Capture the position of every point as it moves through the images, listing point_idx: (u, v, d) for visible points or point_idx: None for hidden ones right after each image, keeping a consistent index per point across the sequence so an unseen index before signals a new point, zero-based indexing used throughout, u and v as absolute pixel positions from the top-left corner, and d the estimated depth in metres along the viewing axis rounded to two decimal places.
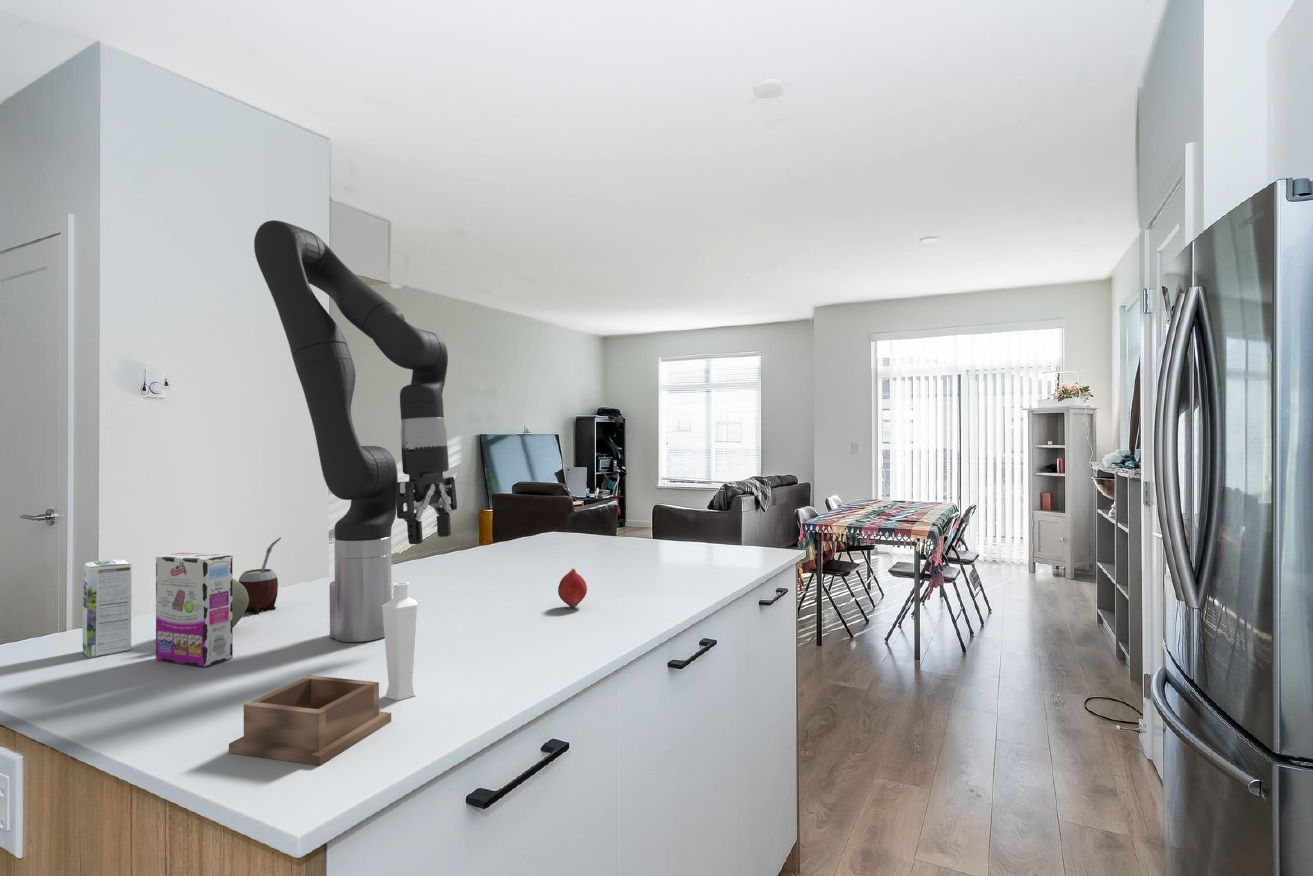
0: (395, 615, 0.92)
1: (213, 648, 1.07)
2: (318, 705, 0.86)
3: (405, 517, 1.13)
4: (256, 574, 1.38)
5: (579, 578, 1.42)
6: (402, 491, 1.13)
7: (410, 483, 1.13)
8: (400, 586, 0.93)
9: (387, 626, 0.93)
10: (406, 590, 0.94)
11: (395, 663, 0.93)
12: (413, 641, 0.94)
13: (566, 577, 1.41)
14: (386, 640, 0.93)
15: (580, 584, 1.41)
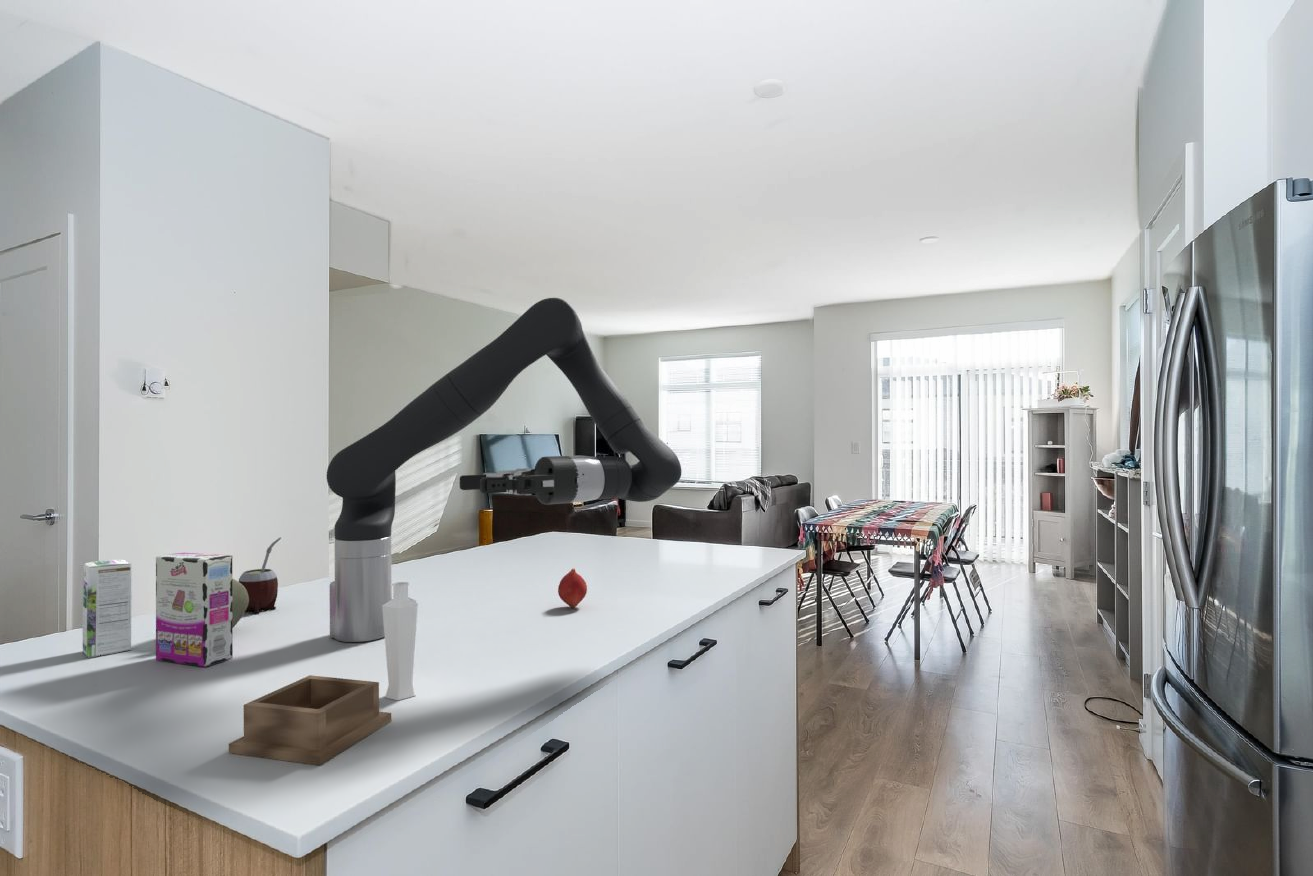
0: (395, 615, 0.92)
1: (213, 648, 1.07)
2: (318, 705, 0.86)
3: (519, 486, 0.99)
4: (256, 574, 1.38)
5: (579, 578, 1.42)
6: (546, 483, 1.02)
7: (552, 491, 1.03)
8: (400, 586, 0.93)
9: (387, 626, 0.93)
10: (406, 590, 0.94)
11: (395, 663, 0.93)
12: (413, 641, 0.94)
13: (566, 577, 1.41)
14: (386, 640, 0.93)
15: (580, 584, 1.41)
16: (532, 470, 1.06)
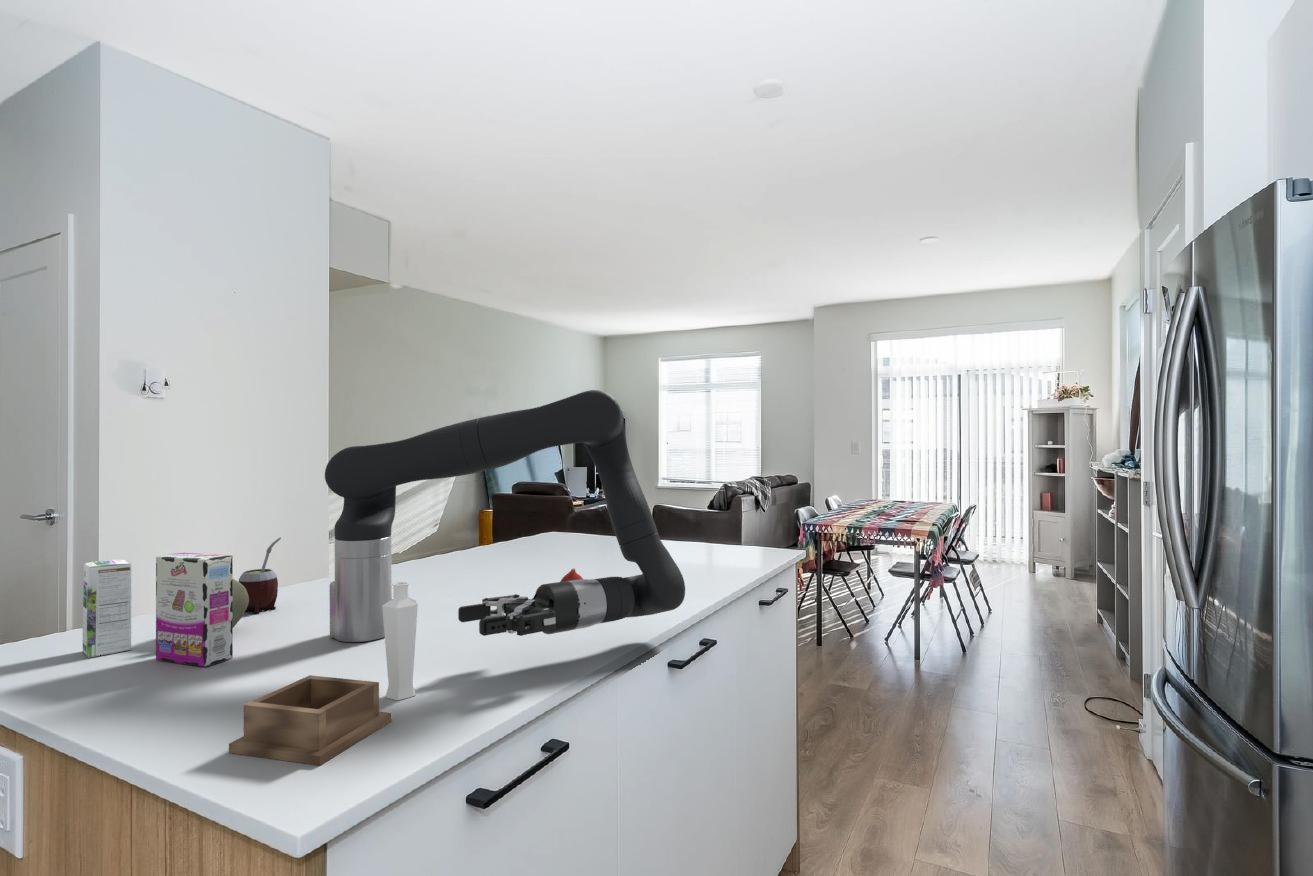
0: (395, 615, 0.92)
1: (213, 648, 1.07)
2: (318, 705, 0.86)
3: (519, 628, 0.97)
4: (256, 574, 1.38)
5: (579, 578, 1.42)
6: (547, 621, 0.99)
7: (553, 628, 1.00)
8: (400, 586, 0.93)
9: (387, 626, 0.93)
10: (406, 590, 0.94)
11: (395, 663, 0.93)
12: (413, 641, 0.94)
13: (566, 577, 1.41)
14: (386, 640, 0.93)
15: None
16: (533, 603, 1.03)
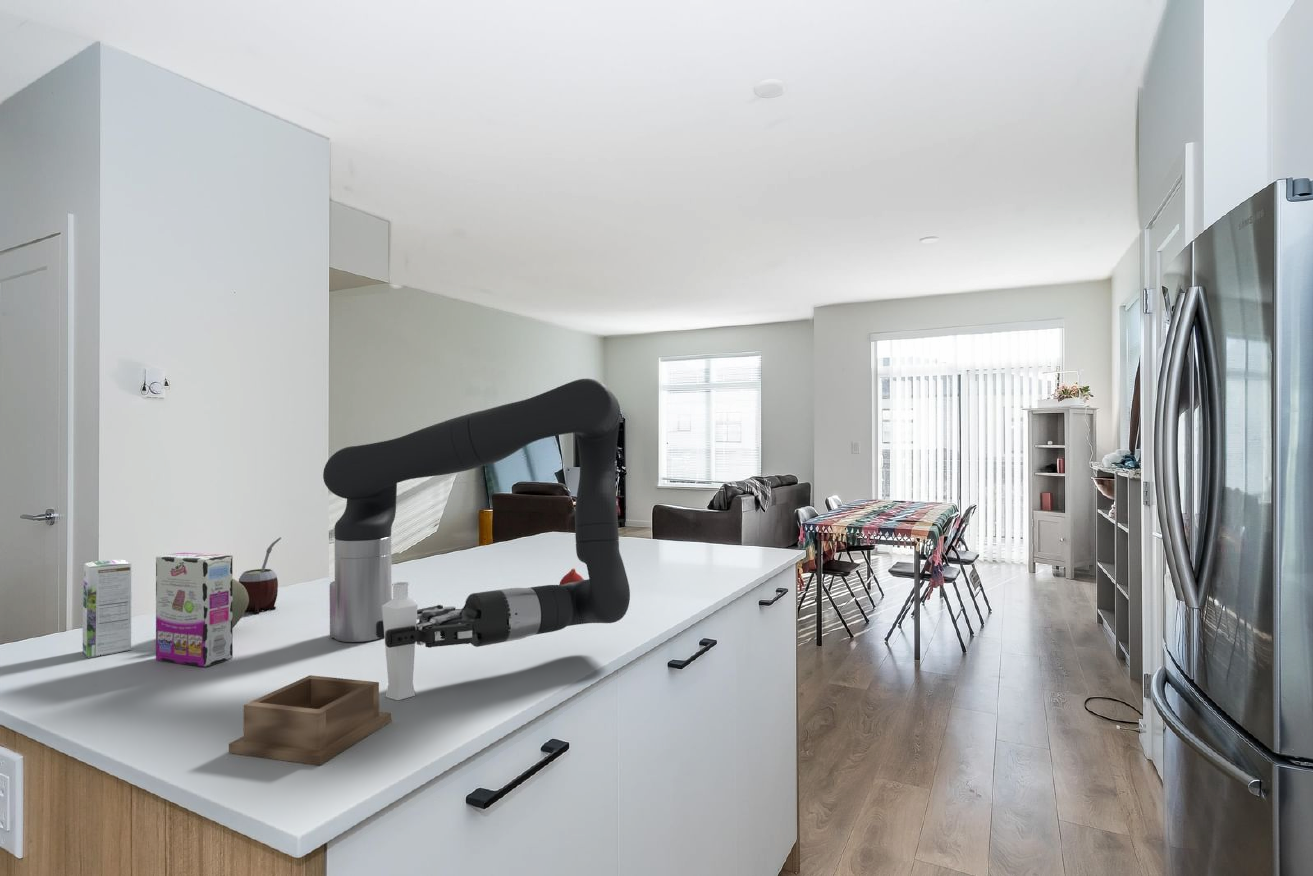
0: (395, 616, 0.92)
1: (213, 648, 1.07)
2: (318, 705, 0.86)
3: (427, 639, 0.91)
4: (256, 574, 1.38)
5: (579, 578, 1.42)
6: (460, 634, 0.92)
7: None
8: (400, 586, 0.93)
9: (387, 626, 0.93)
10: (406, 590, 0.94)
11: (395, 664, 0.93)
12: None
13: (566, 577, 1.41)
14: None
15: None
16: (456, 613, 0.97)
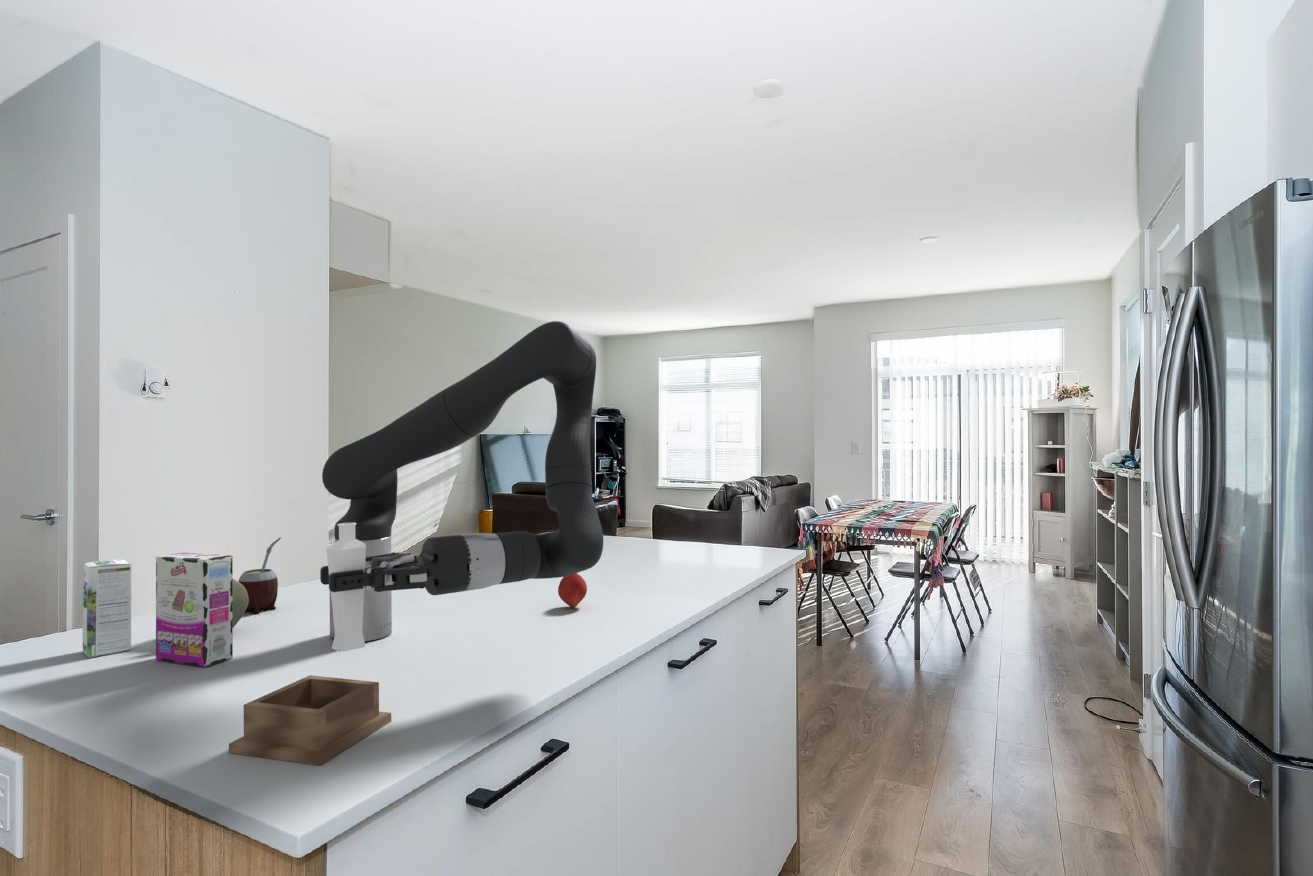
0: (340, 558, 0.83)
1: (213, 648, 1.07)
2: (318, 705, 0.86)
3: (376, 582, 0.82)
4: (256, 574, 1.38)
5: (579, 578, 1.42)
6: (413, 578, 0.84)
7: (423, 587, 0.84)
8: (346, 526, 0.84)
9: (332, 570, 0.84)
10: (353, 531, 0.85)
11: (341, 611, 0.84)
12: None
13: (566, 577, 1.41)
14: None
15: (580, 584, 1.41)
16: (410, 558, 0.88)
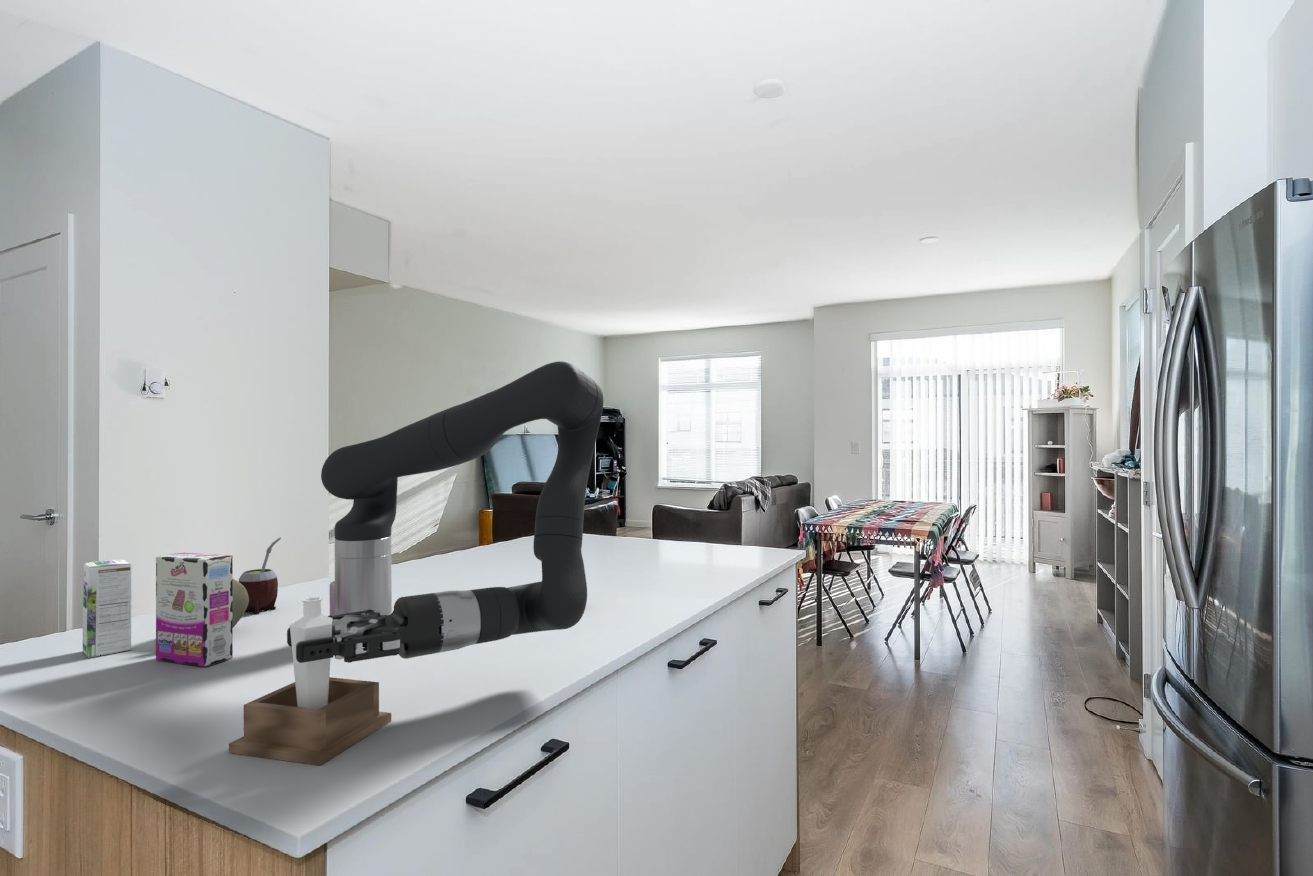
0: (303, 637, 0.79)
1: (213, 648, 1.07)
2: None
3: (346, 652, 0.78)
4: (256, 574, 1.38)
5: None
6: (386, 645, 0.79)
7: None
8: (310, 602, 0.80)
9: (295, 649, 0.80)
10: (318, 607, 0.81)
11: (304, 693, 0.79)
12: (326, 666, 0.80)
13: None
14: (295, 665, 0.80)
15: None
16: (380, 621, 0.84)
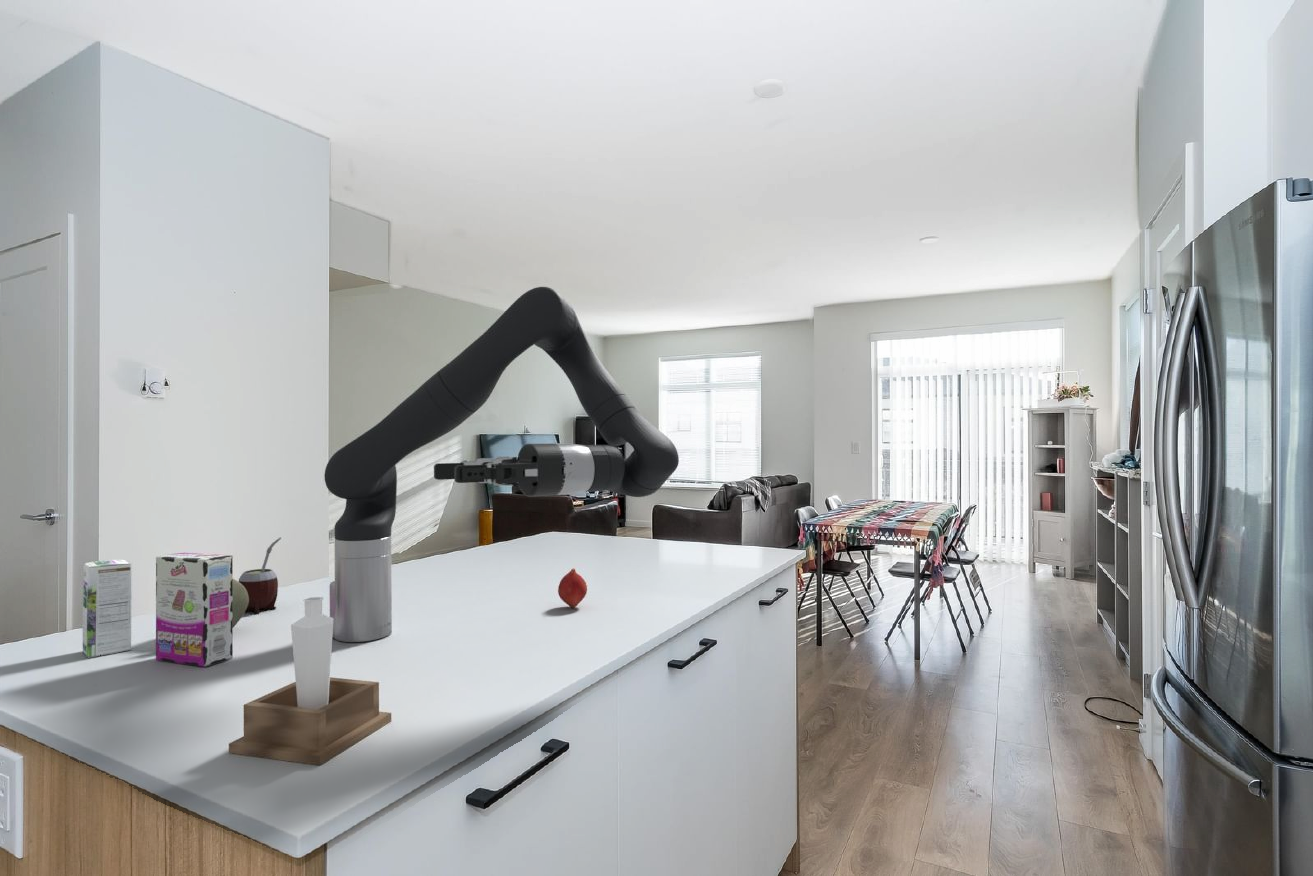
0: (304, 636, 0.79)
1: (213, 648, 1.07)
2: None
3: (498, 475, 0.89)
4: (256, 574, 1.38)
5: (579, 578, 1.42)
6: (528, 472, 0.92)
7: (535, 481, 0.93)
8: (312, 602, 0.80)
9: (296, 649, 0.80)
10: (319, 607, 0.81)
11: (304, 693, 0.79)
12: (327, 666, 0.80)
13: (566, 577, 1.41)
14: (295, 665, 0.80)
15: (580, 584, 1.41)
16: (514, 458, 0.95)
